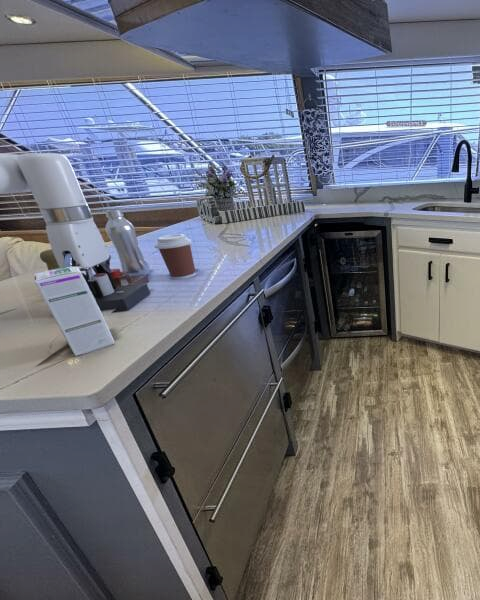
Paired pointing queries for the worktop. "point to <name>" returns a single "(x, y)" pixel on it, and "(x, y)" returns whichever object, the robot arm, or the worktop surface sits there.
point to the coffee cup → (177, 255)
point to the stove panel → (123, 297)
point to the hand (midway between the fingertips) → (102, 292)
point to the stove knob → (104, 283)
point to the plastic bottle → (125, 243)
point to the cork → (49, 259)
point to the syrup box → (74, 309)
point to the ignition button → (115, 272)
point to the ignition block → (129, 279)
